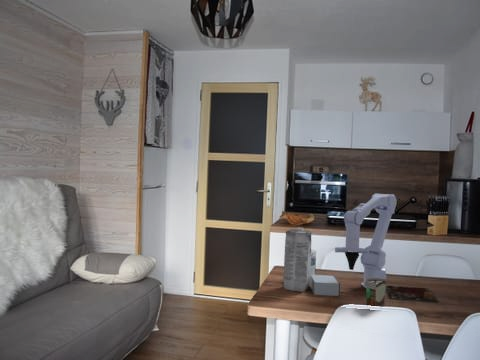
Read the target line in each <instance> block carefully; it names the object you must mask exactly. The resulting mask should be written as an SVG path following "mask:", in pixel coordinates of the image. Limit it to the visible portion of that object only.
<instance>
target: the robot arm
mask: <svg viewBox="0 0 480 360" xmlns="http://www.w3.org/2000/svg"><path fill="white" fill-rule="evenodd" d="M397 201H398V200H397V197H396V196H395V194H393V193H391V194H389V193H387V194H384V193H374V194H372V195H371V199H369V200H368V201H367V202H366V203H364V202H363V203H362V202H361V203H359V204H358V206H356V207H354V208H353V209H352V210H347V211H346V212H345V213H344V215H343V221H344V226H345V247H344V246H343V247H342V246H341V247H339V246H338V247H336V246H335V247H334V252H335V253H344V254H345V258H346V260H347V263H348V269H349V271H353V270H354V269H355V265H356V262H357V260H358V258H359V256H360V262H361V264H362V267H363V282H361V283H360V284H361V286H363V288H365V289H366V286H365V281H366V280H367V279H369V278H381V279H387V272H386V271H387V270H386V268H384V266H385V265H386V256H387V254H386V252H385V251H384V250H383V246H384V242H385V239H386V236H387V232H388V229H389V226H390V222H391V220H392V219H391V218H392V215H393V214H395V210H396V207H397V203H398V202H397ZM373 209H375V211H376V213H378V214H379V216H378V219H377V221H376V226H375V228H374V232H373V236H372V240H371V243H370V245H368V246H366V247H365V248H361V247H360V233H361V232H360V230H361V229H360V228H361V225H362V223H363V222H364V219H365V218H367V217H368V216H369V215H370V214H371V211H372V210H373ZM360 254H361V255H360Z"/></svg>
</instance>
